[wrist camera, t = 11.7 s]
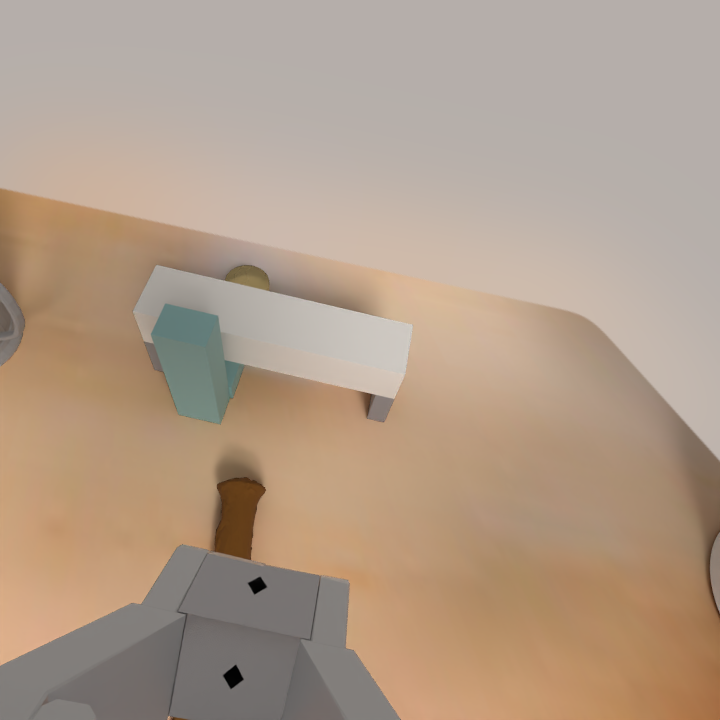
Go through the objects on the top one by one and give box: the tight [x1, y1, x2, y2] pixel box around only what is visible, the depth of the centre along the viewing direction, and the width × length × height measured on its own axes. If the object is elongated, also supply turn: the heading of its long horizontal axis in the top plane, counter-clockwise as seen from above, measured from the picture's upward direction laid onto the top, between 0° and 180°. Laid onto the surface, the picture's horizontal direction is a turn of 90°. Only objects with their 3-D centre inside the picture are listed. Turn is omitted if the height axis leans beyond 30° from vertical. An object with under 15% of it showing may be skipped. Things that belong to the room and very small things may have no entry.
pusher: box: [151, 303, 244, 424], centre depth 42 cm, size 4×12×12 cm, turn 169°
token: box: [225, 265, 269, 291], centre depth 50 cm, size 4×4×2 cm
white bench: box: [133, 265, 413, 422], centre depth 43 cm, size 20×4×8 cm, turn 79°
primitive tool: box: [173, 477, 266, 720], centre depth 36 cm, size 19×6×4 cm, turn 1°
